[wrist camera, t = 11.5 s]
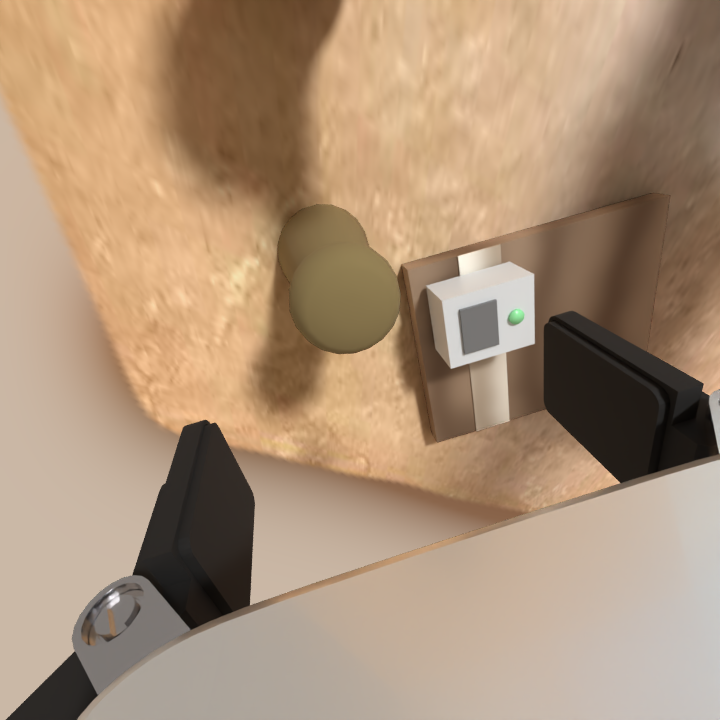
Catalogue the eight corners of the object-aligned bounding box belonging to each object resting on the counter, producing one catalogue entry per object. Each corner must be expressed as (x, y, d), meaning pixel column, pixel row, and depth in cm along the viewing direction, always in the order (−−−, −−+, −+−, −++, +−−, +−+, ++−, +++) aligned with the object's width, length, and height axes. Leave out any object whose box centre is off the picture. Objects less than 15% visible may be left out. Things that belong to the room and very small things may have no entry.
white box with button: (509, 261, 28) (535, 275, 25) (512, 326, 30) (536, 344, 27) (425, 285, 27) (443, 301, 25) (435, 349, 30) (452, 370, 27)
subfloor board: (652, 192, 29) (671, 195, 28) (629, 370, 37) (643, 379, 36) (401, 264, 28) (408, 270, 27) (431, 431, 36) (437, 443, 35)
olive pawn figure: (386, 252, 28) (445, 310, 18) (323, 312, 29) (348, 396, 20) (324, 182, 25) (354, 207, 16) (257, 252, 26) (248, 315, 17)
